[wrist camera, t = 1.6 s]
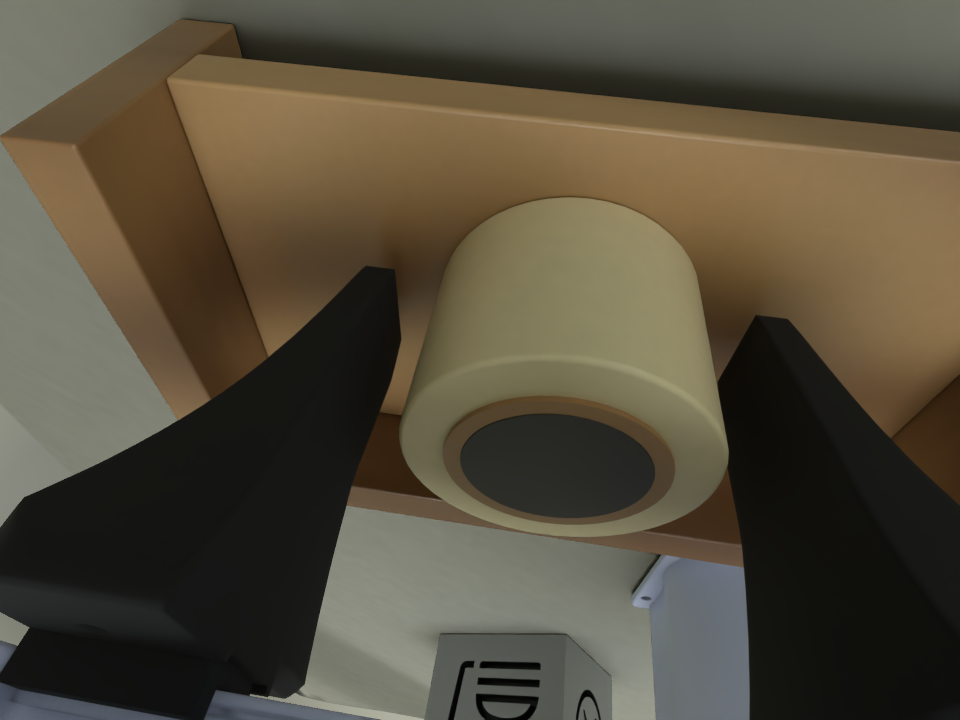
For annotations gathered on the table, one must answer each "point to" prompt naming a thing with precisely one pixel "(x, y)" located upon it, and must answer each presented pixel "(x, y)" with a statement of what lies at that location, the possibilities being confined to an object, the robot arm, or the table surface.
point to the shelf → (474, 199)
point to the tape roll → (567, 375)
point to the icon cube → (516, 679)
